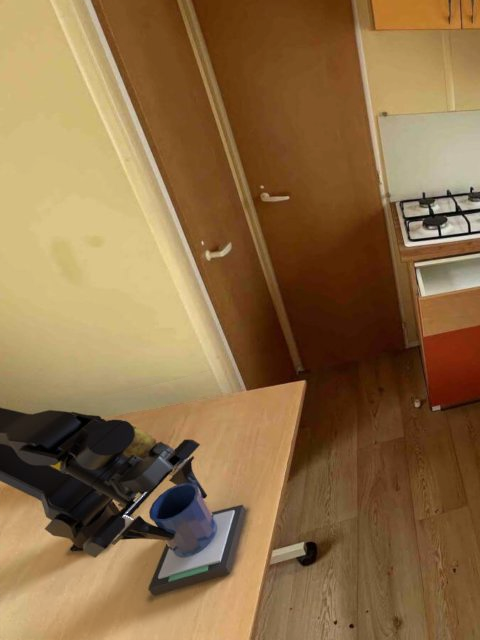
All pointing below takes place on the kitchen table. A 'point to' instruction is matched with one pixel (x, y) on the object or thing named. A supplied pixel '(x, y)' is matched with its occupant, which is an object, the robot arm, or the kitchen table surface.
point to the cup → (184, 519)
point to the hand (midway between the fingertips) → (189, 517)
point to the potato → (140, 444)
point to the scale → (201, 556)
